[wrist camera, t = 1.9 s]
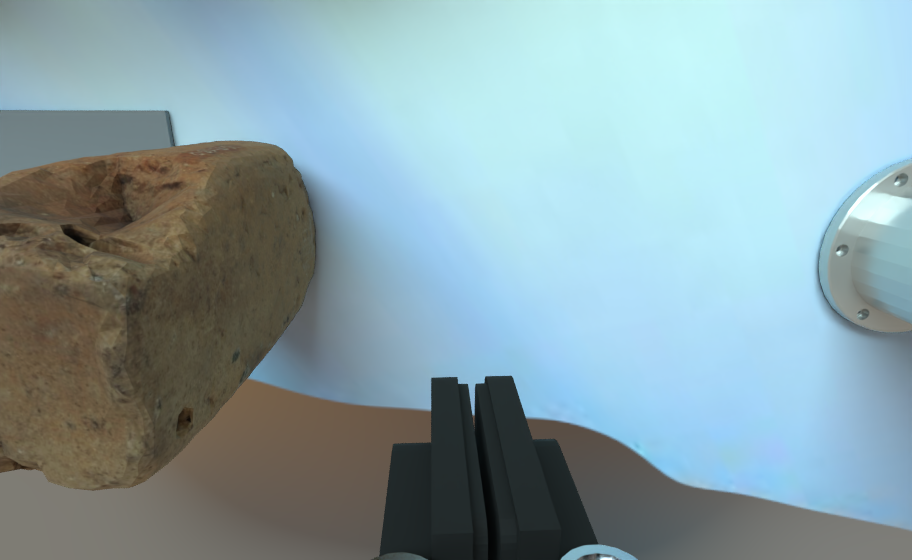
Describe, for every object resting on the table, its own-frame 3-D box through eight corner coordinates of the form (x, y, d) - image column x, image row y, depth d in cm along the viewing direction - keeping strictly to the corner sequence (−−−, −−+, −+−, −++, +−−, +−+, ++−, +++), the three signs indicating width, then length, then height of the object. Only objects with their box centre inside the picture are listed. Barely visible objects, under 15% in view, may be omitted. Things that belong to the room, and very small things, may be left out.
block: (319, 300, 34) (167, 522, 15) (211, 292, 34) (-83, 510, 15) (319, 143, 31) (127, 174, 12) (200, 132, 30) (-199, 146, 11)
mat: (168, 110, 30) (164, 110, 30) (199, 292, 34) (196, 293, 33) (-131, 110, 29) (-138, 110, 29) (-65, 294, 33) (-71, 296, 33)
